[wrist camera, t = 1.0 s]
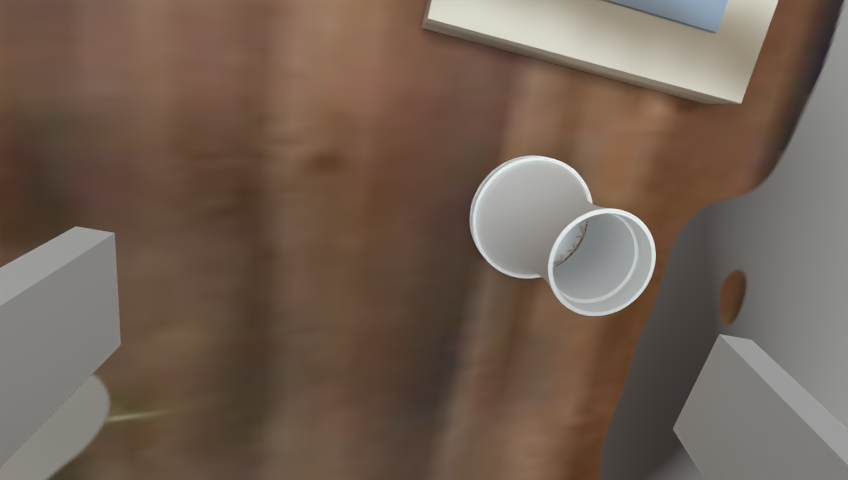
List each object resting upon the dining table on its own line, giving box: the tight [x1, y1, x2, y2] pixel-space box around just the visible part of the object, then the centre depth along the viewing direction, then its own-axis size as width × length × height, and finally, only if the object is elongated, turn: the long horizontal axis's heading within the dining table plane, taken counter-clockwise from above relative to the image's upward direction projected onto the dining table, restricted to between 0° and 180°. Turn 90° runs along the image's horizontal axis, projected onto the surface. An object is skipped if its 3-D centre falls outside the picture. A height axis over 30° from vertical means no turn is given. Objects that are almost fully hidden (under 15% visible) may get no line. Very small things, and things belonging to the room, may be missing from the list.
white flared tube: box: [469, 155, 656, 316], centre depth 26 cm, size 8×8×10 cm
